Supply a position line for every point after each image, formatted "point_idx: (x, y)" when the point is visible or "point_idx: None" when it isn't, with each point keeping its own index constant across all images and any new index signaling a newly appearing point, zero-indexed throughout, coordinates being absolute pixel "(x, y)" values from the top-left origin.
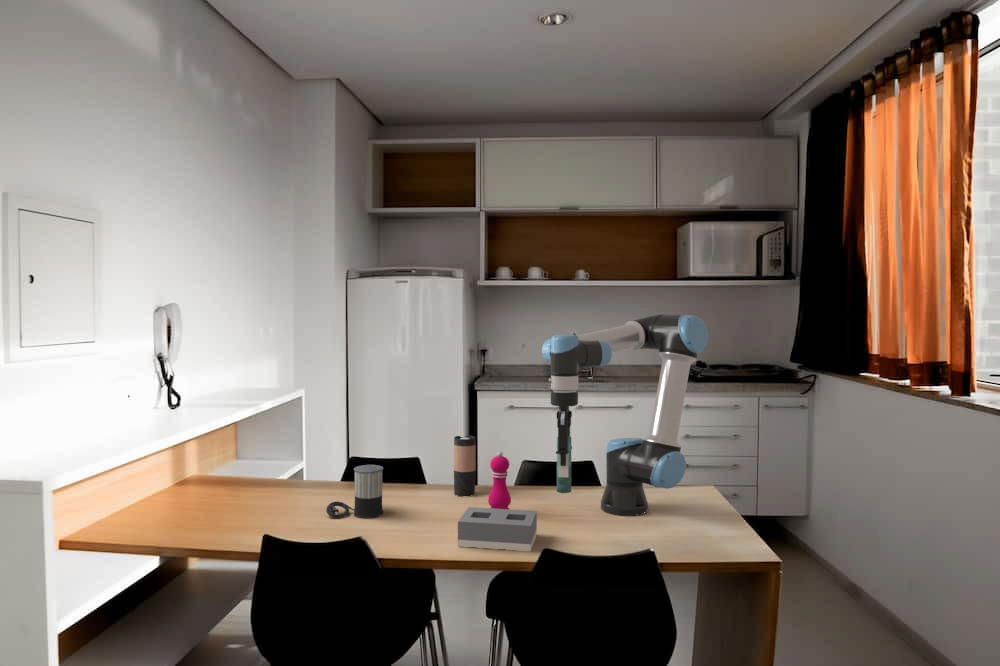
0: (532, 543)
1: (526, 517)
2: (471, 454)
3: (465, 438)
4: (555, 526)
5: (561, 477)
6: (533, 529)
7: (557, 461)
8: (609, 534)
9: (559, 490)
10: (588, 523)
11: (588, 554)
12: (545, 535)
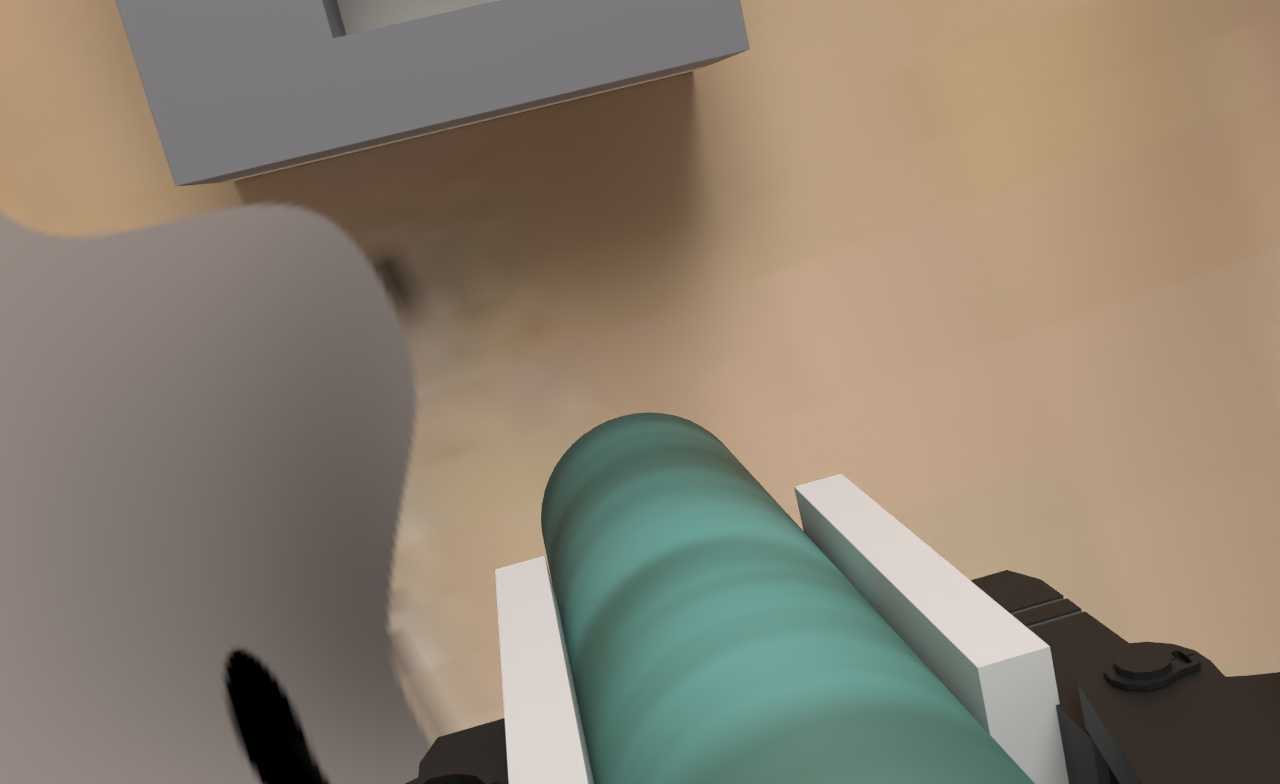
0: (376, 146)
1: (454, 24)
2: None
3: None
4: (993, 152)
5: (560, 596)
6: (440, 127)
7: (637, 613)
8: None
9: (551, 491)
10: (1169, 397)
11: (410, 646)
12: (717, 152)
